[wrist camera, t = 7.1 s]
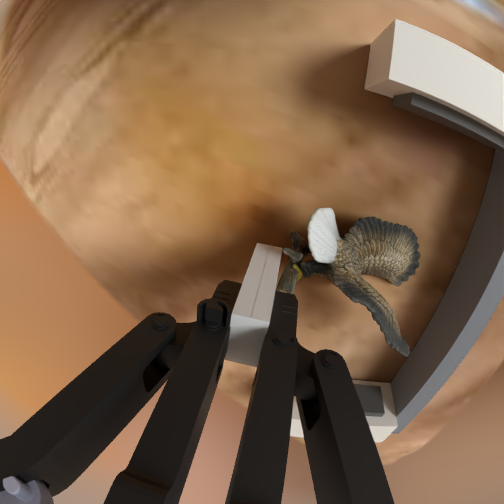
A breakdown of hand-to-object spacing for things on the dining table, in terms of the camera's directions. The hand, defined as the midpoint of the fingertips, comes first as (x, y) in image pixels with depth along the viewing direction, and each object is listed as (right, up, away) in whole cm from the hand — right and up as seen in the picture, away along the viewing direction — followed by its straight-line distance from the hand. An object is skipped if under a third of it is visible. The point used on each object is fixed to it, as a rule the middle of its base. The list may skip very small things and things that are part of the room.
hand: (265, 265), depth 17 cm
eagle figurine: (+6, +1, +1) cm, 6 cm away
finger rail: (+9, -1, +1) cm, 9 cm away
